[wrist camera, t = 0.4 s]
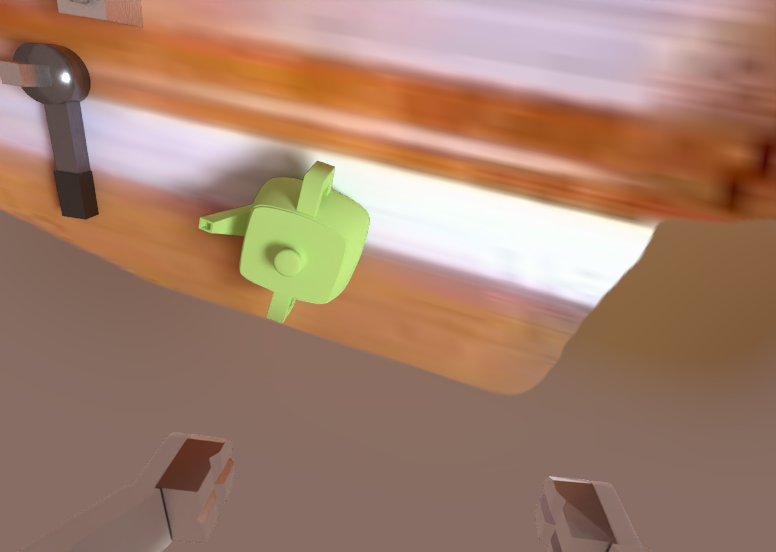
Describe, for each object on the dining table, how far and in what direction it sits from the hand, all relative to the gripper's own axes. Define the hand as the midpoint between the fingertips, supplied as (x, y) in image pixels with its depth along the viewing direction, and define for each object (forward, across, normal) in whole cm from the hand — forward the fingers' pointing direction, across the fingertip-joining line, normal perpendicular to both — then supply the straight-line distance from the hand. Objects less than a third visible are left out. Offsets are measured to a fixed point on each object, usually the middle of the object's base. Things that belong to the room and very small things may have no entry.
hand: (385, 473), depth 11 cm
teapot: (+46, +15, +9) cm, 50 cm away
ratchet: (+46, +44, +1) cm, 64 cm away
